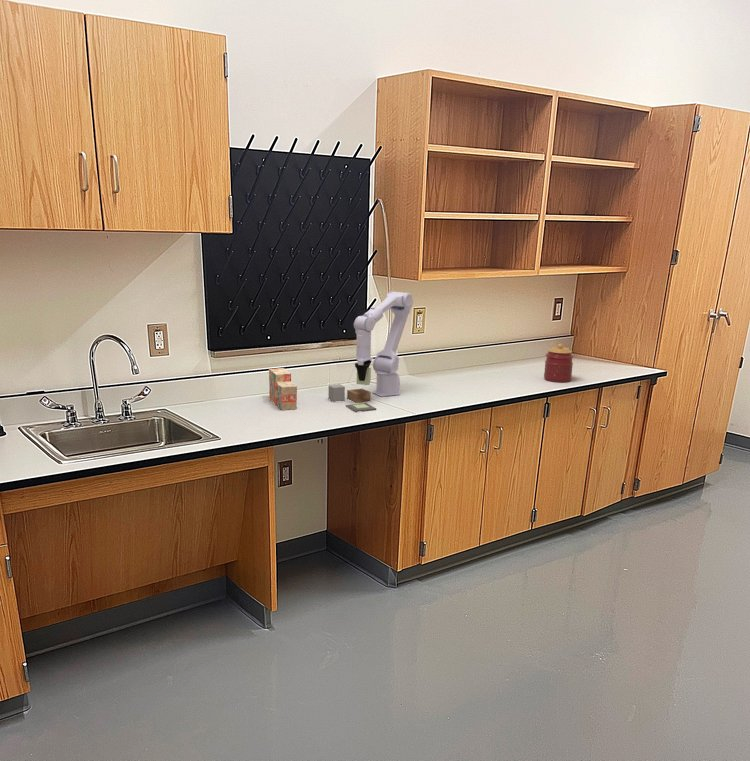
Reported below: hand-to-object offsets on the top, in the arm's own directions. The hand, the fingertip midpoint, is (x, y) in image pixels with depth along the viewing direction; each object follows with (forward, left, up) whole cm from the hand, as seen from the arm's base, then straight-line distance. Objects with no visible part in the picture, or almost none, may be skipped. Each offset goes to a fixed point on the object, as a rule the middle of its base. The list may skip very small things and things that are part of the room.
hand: (362, 379), depth 275 cm
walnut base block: (+1, -2, -9) cm, 9 cm away
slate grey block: (+10, -5, -9) cm, 14 cm away
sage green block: (0, 0, -2) cm, 2 cm away
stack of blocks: (+31, -8, -9) cm, 34 cm away
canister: (-105, -3, -9) cm, 105 cm away
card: (+6, +11, -9) cm, 15 cm away
